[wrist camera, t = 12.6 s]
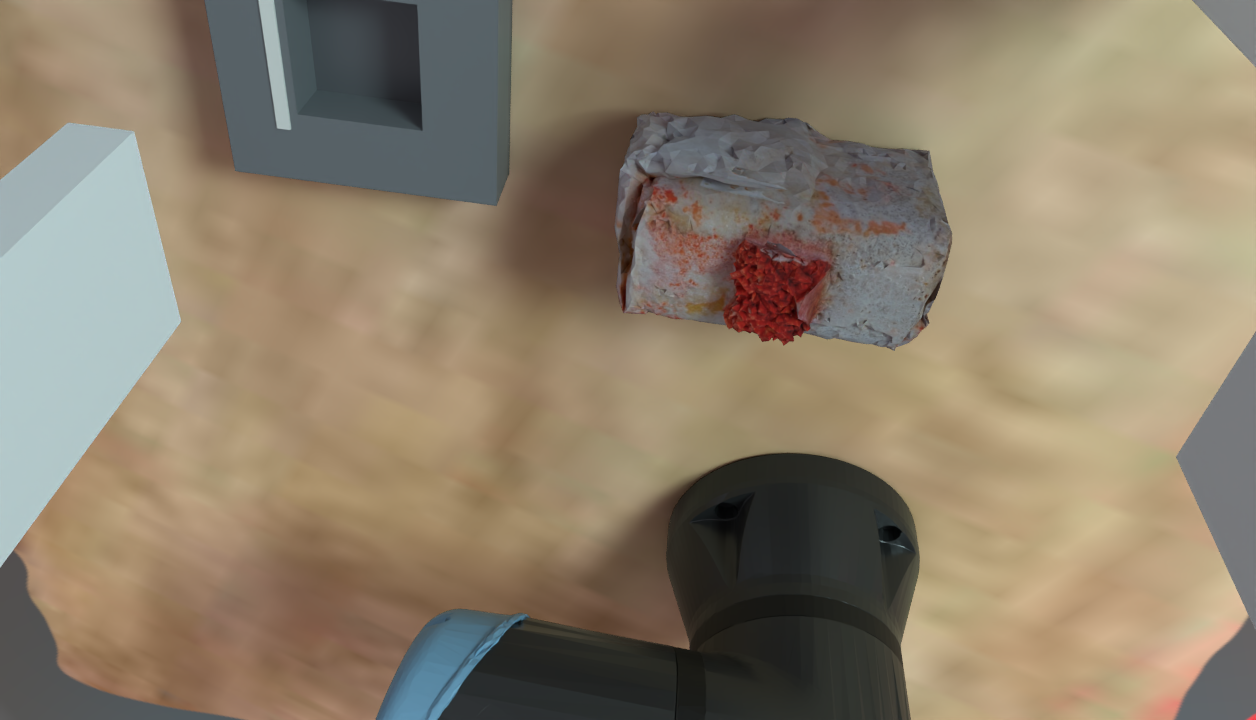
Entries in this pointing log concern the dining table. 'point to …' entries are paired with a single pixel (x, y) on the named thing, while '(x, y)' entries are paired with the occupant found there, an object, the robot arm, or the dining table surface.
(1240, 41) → the milk
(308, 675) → the dining table surface
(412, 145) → the panel
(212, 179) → the dining table surface
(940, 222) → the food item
